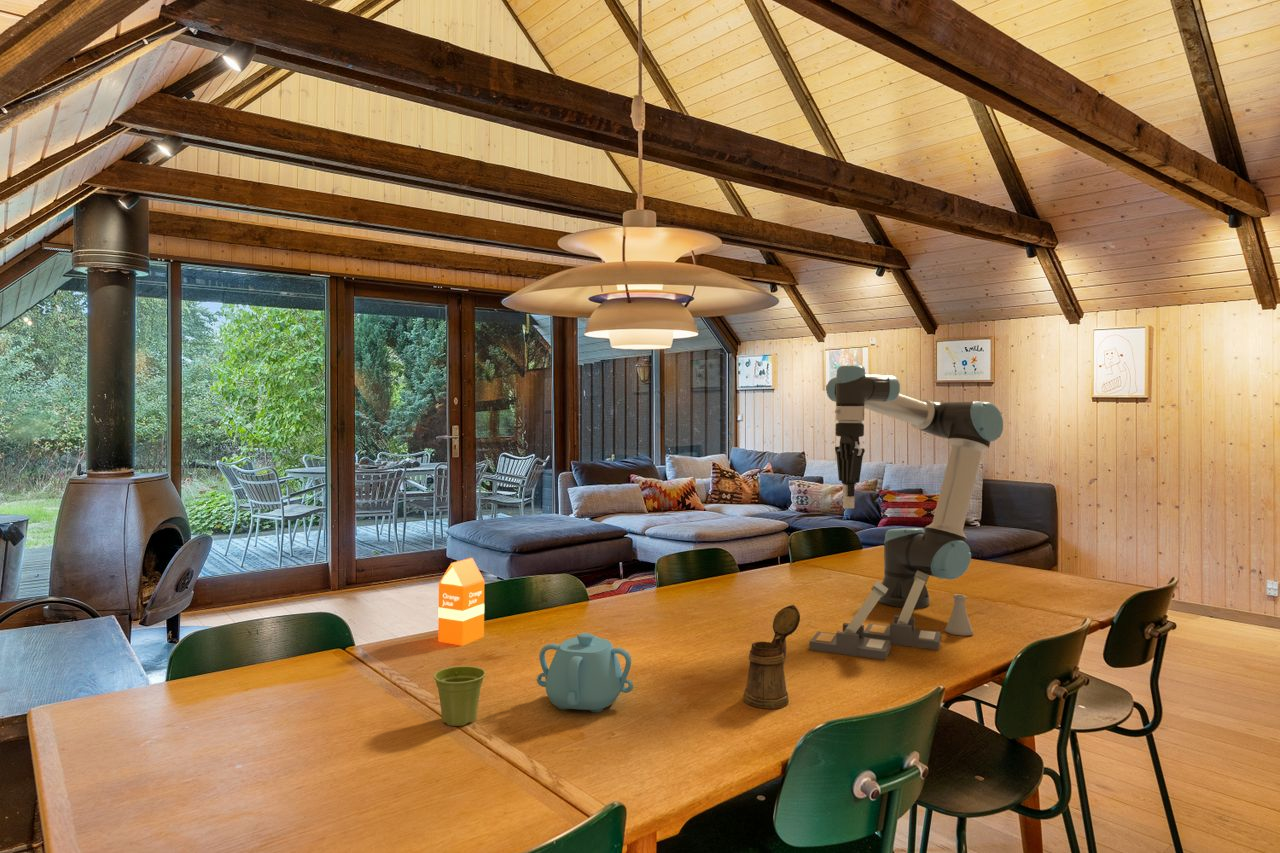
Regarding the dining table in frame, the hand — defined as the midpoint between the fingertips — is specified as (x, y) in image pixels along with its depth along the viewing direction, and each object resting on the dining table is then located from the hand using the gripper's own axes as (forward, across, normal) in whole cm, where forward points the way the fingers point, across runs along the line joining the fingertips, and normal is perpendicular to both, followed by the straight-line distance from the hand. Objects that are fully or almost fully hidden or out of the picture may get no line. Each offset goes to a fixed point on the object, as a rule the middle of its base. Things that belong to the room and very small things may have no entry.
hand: (848, 508), depth 210 cm
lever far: (+29, +15, +8) cm, 33 cm away
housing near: (+32, +20, -9) cm, 39 cm away
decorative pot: (+33, +44, -78) cm, 95 cm away
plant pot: (+33, +49, -102) cm, 118 cm away
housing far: (+32, +15, +8) cm, 37 cm away
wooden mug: (+33, +48, -40) cm, 70 cm away
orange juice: (+33, -4, -103) cm, 108 cm away
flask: (+33, +11, +27) cm, 44 cm away
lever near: (+29, +20, -10) cm, 36 cm away
